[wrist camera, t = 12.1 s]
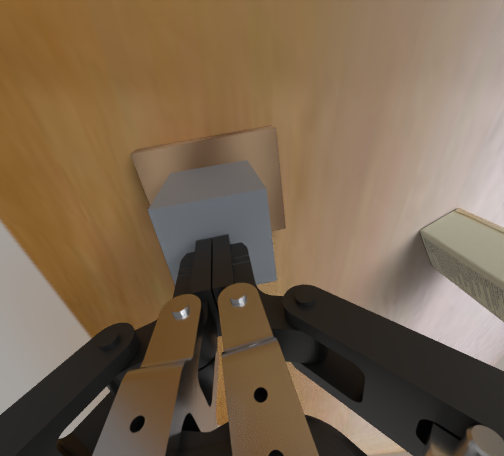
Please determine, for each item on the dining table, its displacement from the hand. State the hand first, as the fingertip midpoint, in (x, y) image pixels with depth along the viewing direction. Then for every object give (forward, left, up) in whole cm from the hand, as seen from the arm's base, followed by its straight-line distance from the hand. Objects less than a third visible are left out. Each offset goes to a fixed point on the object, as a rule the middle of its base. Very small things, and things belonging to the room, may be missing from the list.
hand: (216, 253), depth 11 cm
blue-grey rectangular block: (0, 0, -7) cm, 7 cm away
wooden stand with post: (0, 0, -10) cm, 10 cm away
